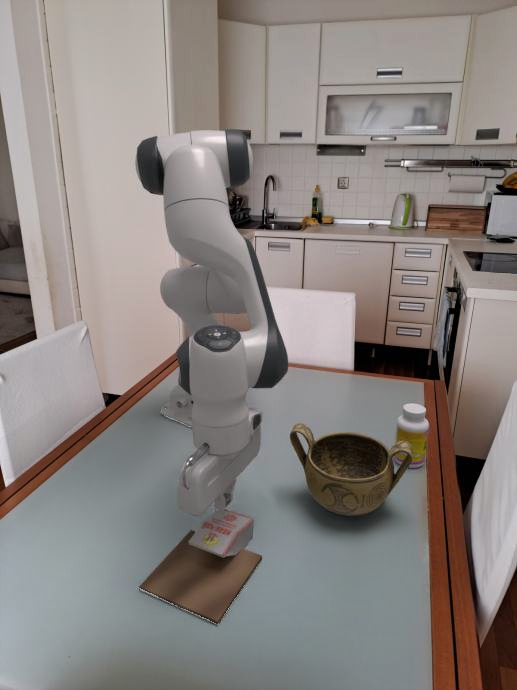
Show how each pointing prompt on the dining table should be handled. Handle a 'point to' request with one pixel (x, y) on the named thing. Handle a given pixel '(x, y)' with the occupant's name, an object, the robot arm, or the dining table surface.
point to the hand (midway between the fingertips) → (223, 504)
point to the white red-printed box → (223, 533)
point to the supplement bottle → (413, 433)
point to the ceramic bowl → (349, 469)
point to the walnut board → (201, 579)
